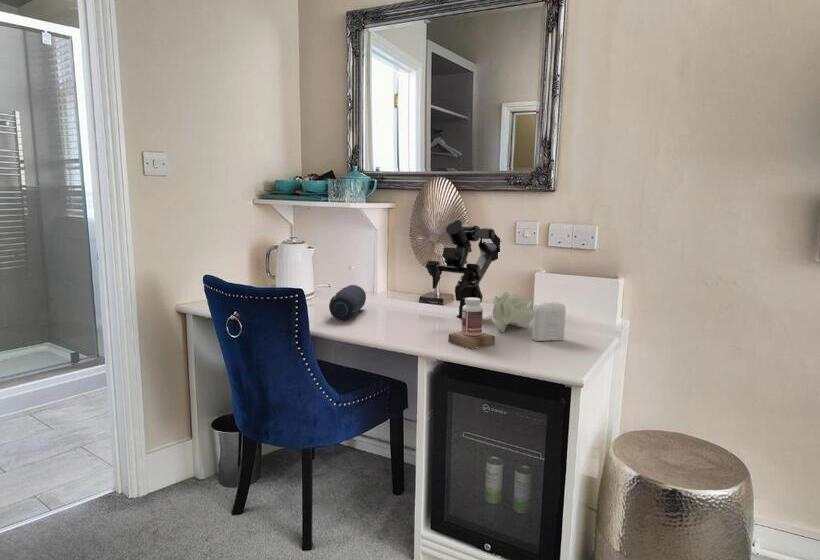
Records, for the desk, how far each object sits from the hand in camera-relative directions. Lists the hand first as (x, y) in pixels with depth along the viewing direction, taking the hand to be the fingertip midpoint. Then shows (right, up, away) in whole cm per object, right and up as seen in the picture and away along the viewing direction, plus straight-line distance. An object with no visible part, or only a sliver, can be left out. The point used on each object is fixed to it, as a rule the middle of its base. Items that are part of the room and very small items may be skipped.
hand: (446, 289), depth 187 cm
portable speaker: (-35, -10, +22) cm, 42 cm away
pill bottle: (+7, -14, -14) cm, 21 cm away
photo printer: (+32, -16, -9) cm, 37 cm away
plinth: (+7, -16, -14) cm, 23 cm away
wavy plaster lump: (+22, -13, +7) cm, 27 cm away
